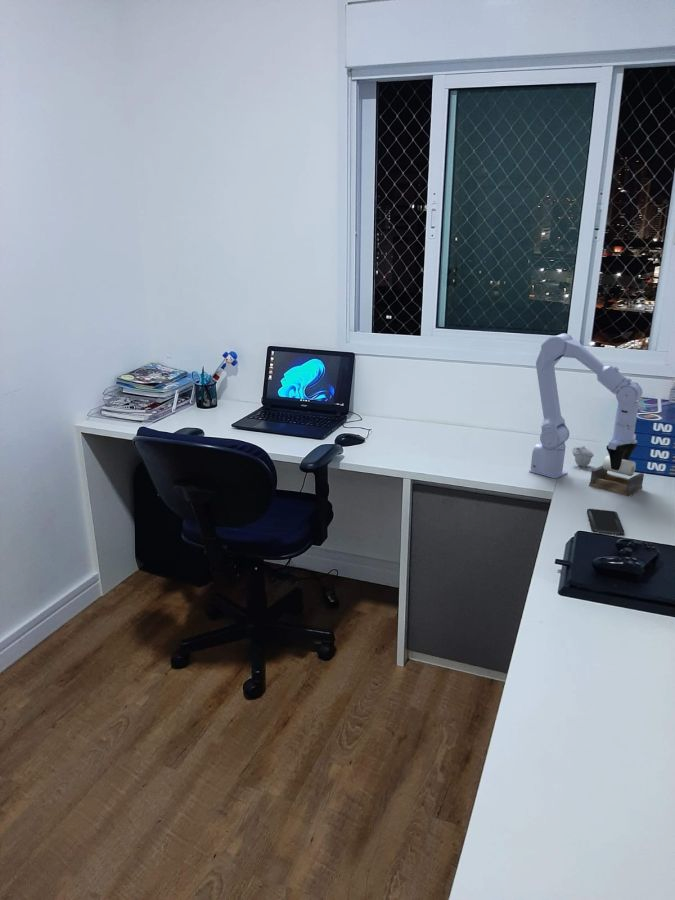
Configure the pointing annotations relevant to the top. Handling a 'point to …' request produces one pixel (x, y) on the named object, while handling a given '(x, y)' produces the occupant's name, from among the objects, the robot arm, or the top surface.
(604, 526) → the phone
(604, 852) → the top surface
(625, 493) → the roll holder
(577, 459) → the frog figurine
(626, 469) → the paper roll
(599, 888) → the top surface
